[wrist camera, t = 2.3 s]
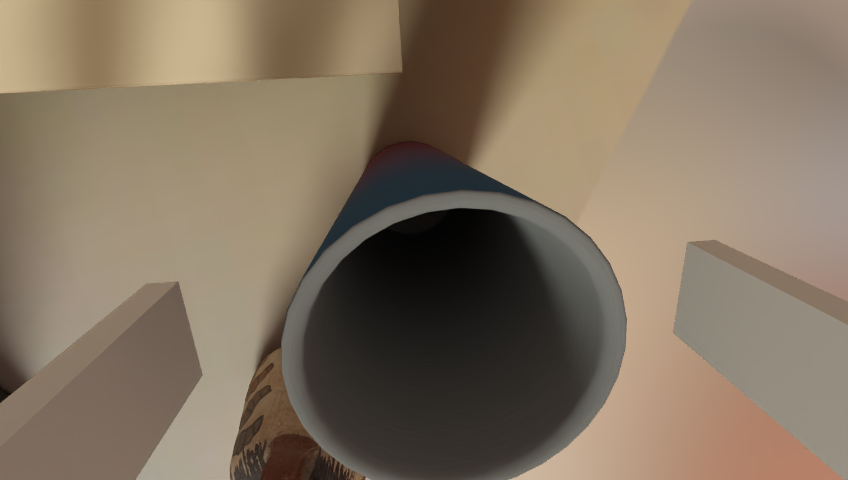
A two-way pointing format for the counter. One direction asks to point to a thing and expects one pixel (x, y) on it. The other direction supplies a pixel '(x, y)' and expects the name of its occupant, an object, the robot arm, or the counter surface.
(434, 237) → the cup
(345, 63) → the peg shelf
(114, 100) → the counter surface
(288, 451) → the figurine
